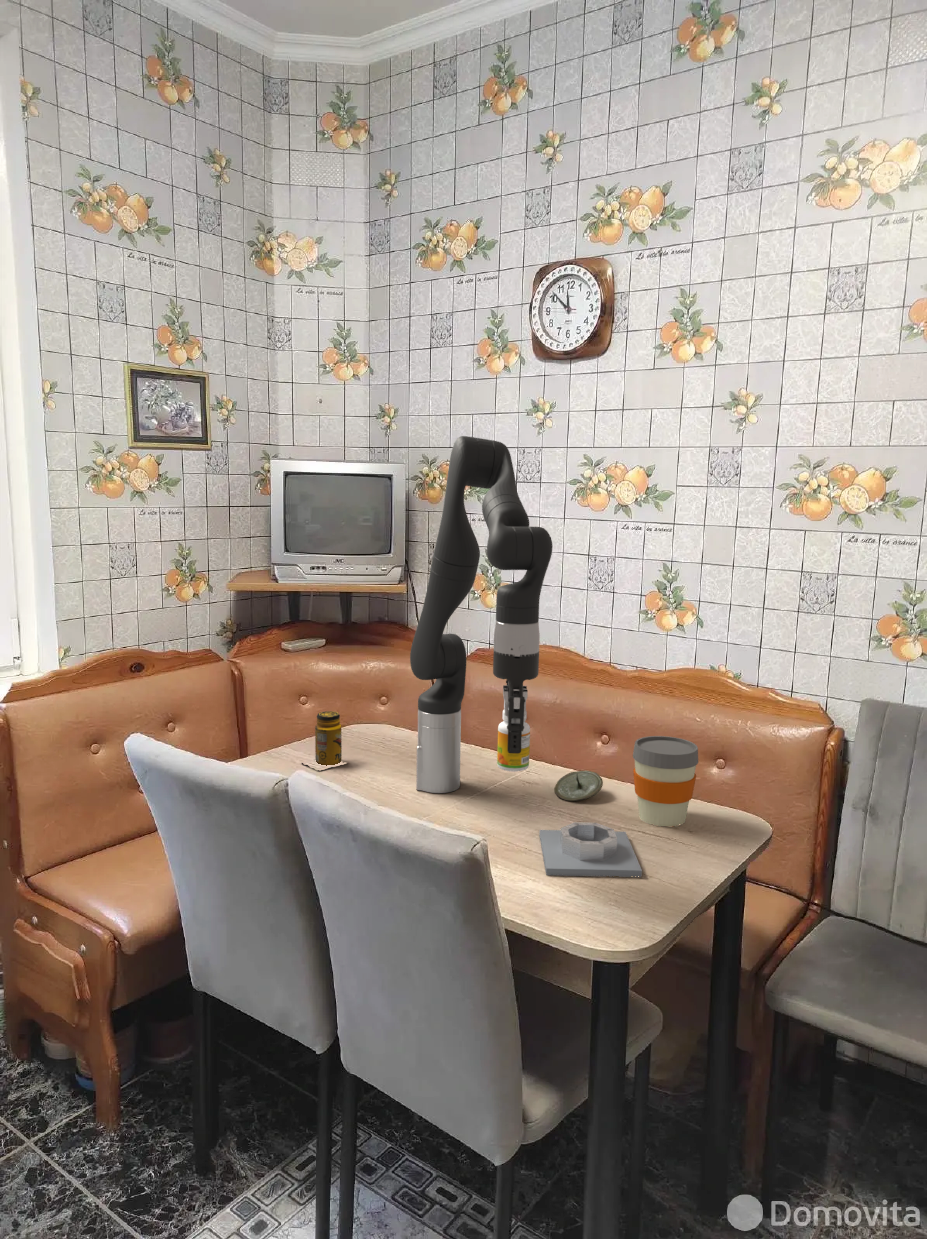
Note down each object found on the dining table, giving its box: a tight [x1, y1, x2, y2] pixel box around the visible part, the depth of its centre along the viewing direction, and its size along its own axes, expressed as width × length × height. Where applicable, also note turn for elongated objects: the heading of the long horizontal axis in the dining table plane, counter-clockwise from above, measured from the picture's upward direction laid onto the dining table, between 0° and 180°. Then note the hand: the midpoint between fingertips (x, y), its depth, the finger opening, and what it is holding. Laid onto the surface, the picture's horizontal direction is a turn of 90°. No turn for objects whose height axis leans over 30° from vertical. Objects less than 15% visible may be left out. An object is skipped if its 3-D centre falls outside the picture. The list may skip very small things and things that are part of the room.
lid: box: [553, 770, 604, 802], centre depth 178 cm, size 11×10×5 cm
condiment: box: [314, 710, 343, 766], centre depth 194 cm, size 7×8×12 cm
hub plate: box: [538, 829, 643, 878], centre depth 149 cm, size 16×16×1 cm
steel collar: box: [560, 821, 617, 861], centre depth 148 cm, size 10×10×3 cm
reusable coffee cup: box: [632, 735, 699, 827], centre depth 165 cm, size 13×13×15 cm
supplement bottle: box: [496, 708, 531, 773], centre depth 141 cm, size 5×5×10 cm
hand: (513, 746), depth 141 cm, fingers closed on supplement bottle, 5 cm apart
